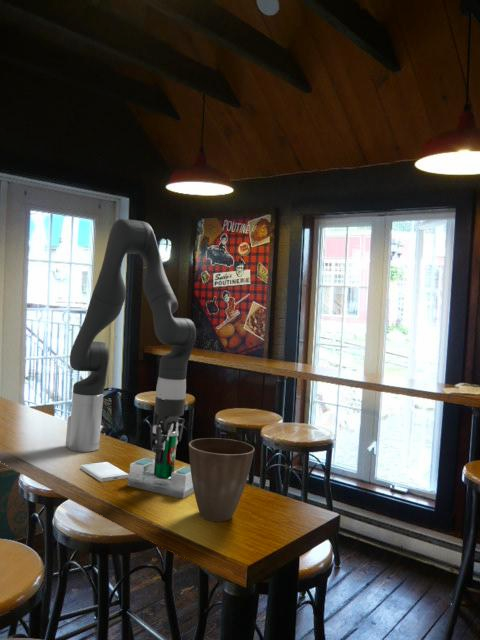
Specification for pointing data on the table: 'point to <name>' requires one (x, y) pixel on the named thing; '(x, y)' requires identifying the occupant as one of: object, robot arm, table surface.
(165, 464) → the soda can
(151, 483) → the grey u-shaped block
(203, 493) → the plant pot
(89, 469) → the hard drive
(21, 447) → the table surface
